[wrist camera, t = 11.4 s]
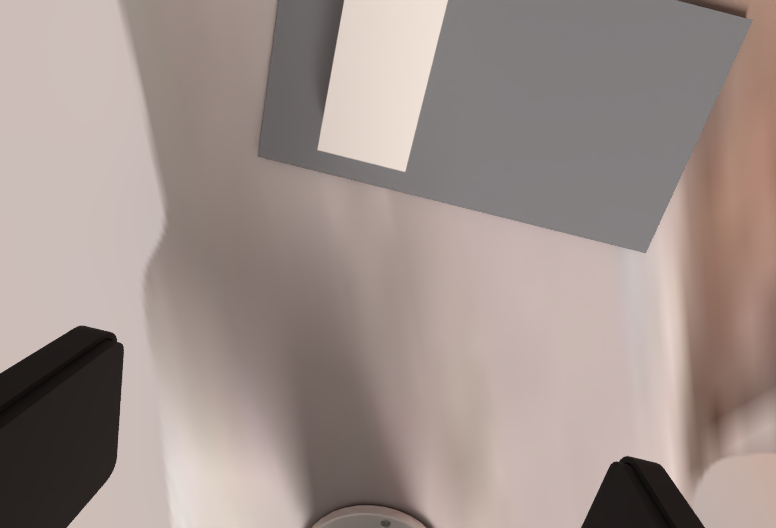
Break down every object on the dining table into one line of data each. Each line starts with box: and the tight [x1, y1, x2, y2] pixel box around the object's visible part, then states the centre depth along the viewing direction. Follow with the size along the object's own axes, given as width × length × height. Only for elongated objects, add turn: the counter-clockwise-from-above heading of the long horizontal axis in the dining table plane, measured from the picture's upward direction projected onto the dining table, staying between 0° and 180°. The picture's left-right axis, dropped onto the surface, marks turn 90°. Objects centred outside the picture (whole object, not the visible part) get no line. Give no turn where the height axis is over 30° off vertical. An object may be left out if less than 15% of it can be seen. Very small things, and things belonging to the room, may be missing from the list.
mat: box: [258, 0, 753, 253], centre depth 29 cm, size 14×26×1 cm, turn 77°
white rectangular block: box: [317, 0, 448, 172], centre depth 26 cm, size 5×10×4 cm, turn 167°
